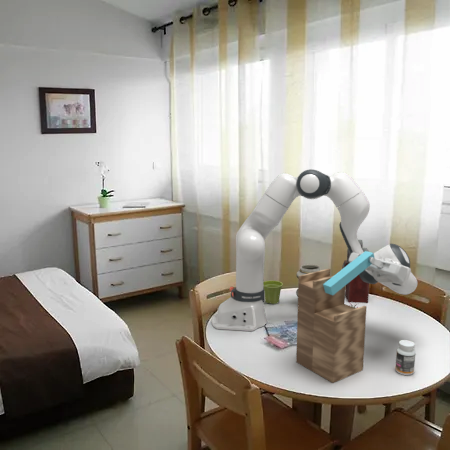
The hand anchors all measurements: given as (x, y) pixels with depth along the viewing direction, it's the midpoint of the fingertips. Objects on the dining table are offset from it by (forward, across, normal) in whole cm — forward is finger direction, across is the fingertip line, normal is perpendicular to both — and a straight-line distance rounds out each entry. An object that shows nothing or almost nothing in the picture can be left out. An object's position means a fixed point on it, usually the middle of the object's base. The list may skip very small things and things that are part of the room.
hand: (364, 257), depth 156 cm
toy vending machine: (-56, -40, +9) cm, 69 cm away
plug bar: (+3, 0, +8) cm, 8 cm away
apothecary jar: (-37, -46, +20) cm, 62 cm away
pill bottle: (-23, +14, +29) cm, 39 cm away
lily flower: (-45, -29, +16) cm, 56 cm away
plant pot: (-28, -59, +26) cm, 70 cm away
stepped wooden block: (-8, -3, +37) cm, 38 cm away
